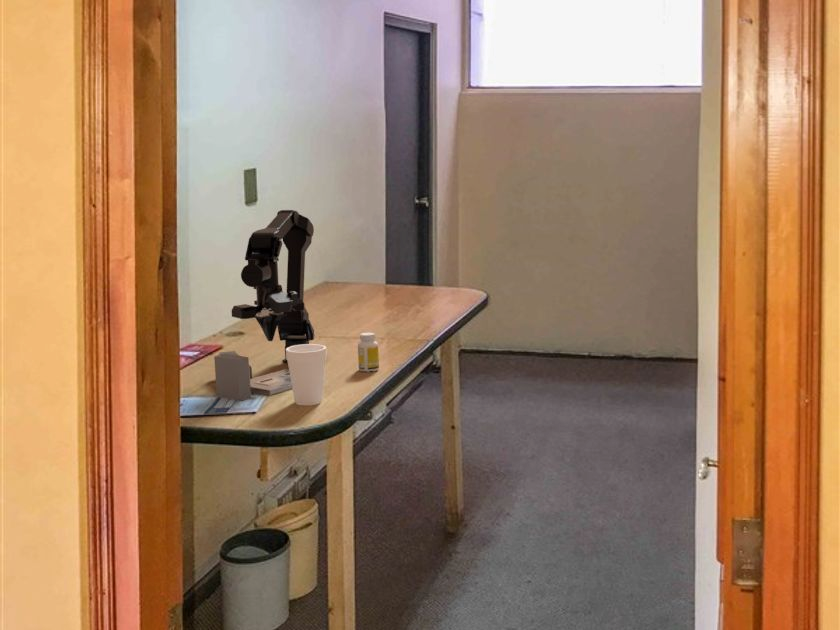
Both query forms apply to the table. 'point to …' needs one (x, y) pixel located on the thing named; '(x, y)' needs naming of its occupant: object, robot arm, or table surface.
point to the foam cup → (307, 372)
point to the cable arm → (239, 355)
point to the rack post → (232, 376)
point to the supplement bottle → (368, 353)
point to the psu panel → (272, 383)
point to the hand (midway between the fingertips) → (270, 340)
